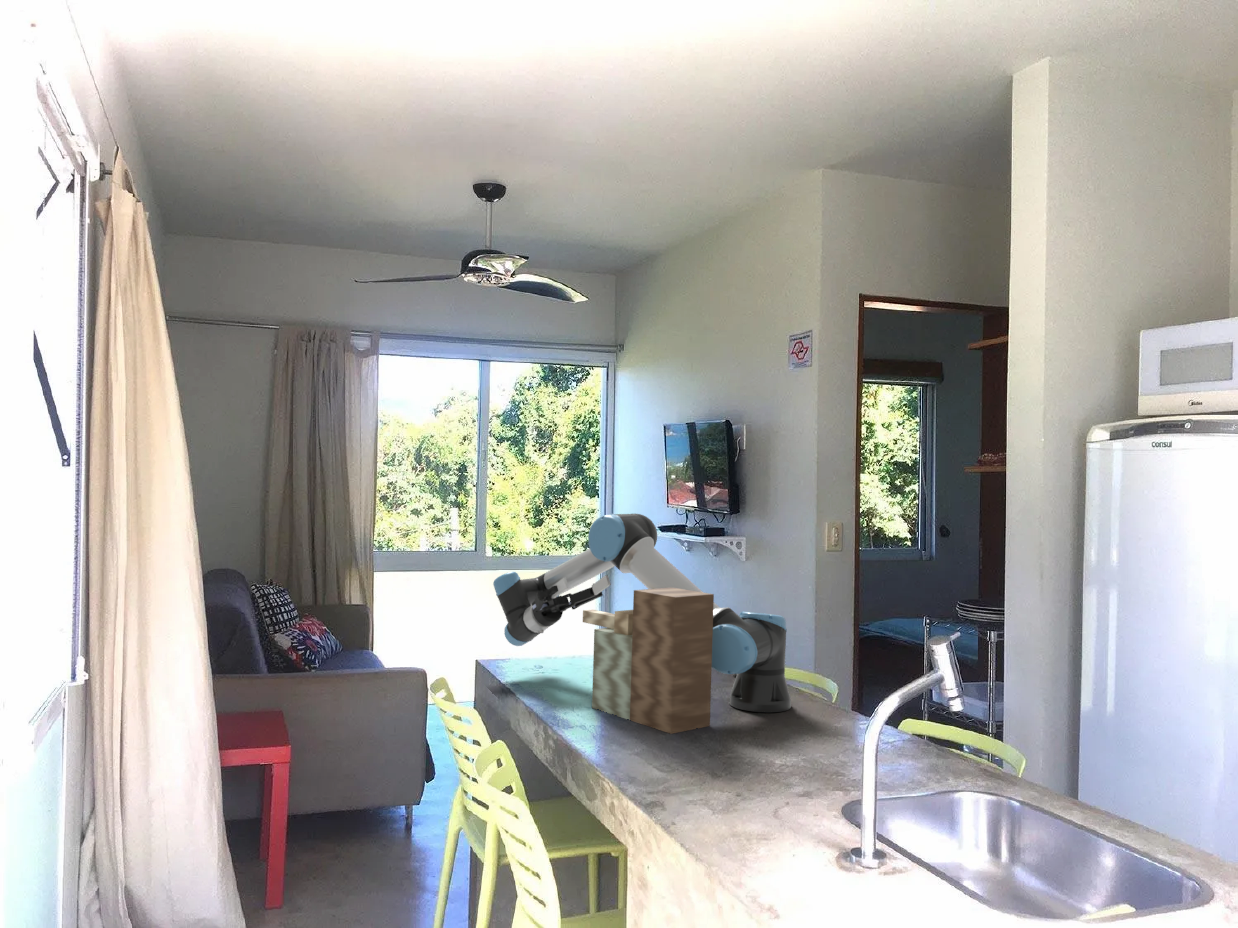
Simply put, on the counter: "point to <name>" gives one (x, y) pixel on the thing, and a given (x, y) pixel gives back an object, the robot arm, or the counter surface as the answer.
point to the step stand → (658, 662)
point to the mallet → (611, 620)
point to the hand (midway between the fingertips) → (587, 581)
